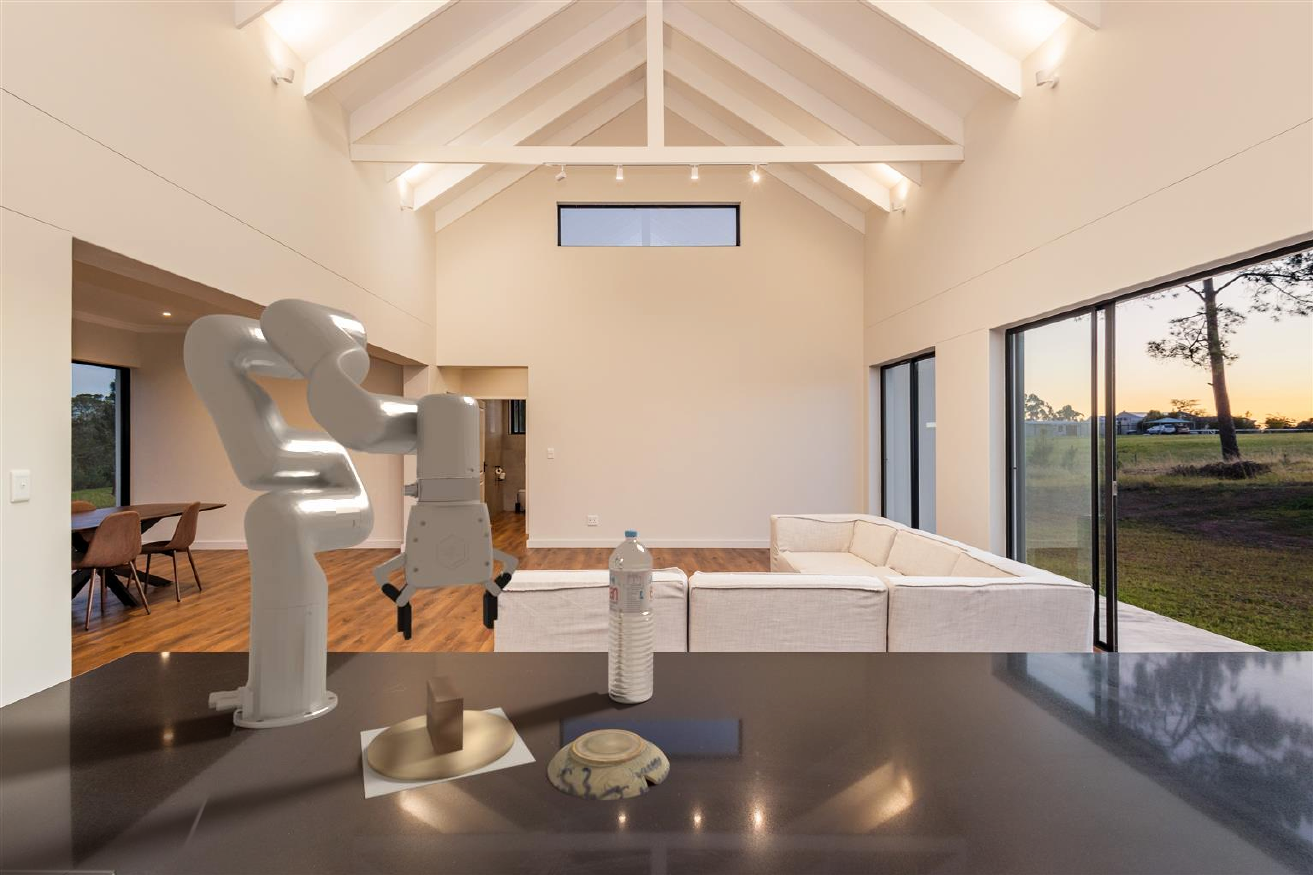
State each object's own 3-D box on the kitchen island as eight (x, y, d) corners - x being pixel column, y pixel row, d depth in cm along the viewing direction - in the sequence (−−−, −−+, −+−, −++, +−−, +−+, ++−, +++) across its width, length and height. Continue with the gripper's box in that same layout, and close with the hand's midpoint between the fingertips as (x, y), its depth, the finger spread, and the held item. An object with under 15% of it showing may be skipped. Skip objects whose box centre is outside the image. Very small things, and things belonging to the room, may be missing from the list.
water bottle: (647, 706, 90) (648, 533, 91) (602, 703, 91) (603, 532, 93) (657, 690, 97) (657, 529, 98) (614, 686, 98) (615, 528, 99)
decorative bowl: (582, 739, 81) (514, 794, 67) (582, 710, 81) (515, 758, 67) (691, 760, 75) (641, 825, 61) (691, 729, 75) (642, 786, 61)
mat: (365, 803, 64) (365, 798, 64) (360, 736, 80) (360, 731, 80) (535, 765, 72) (535, 760, 72) (500, 711, 88) (500, 707, 88)
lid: (370, 794, 65) (371, 726, 65) (364, 732, 80) (366, 677, 80) (530, 760, 72) (531, 699, 73) (497, 709, 88) (498, 659, 88)
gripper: (374, 496, 70) (373, 649, 69) (524, 491, 78) (526, 629, 77) (371, 494, 77) (370, 634, 76) (510, 490, 85) (511, 617, 84)
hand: (448, 631), depth 77 cm, fingers open, 9 cm apart
